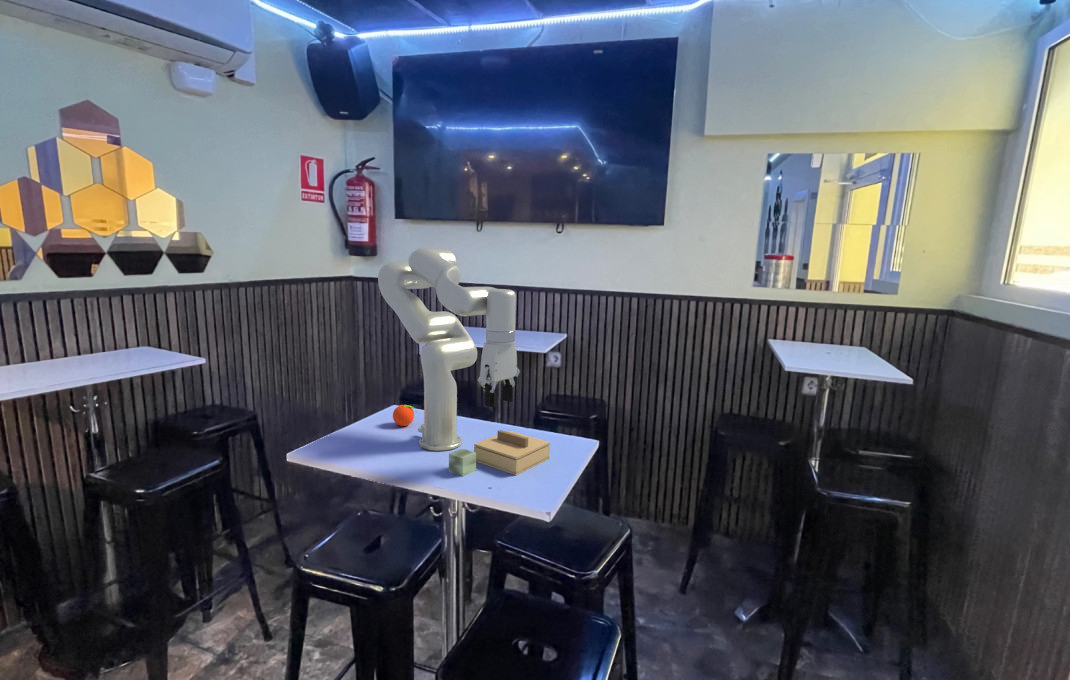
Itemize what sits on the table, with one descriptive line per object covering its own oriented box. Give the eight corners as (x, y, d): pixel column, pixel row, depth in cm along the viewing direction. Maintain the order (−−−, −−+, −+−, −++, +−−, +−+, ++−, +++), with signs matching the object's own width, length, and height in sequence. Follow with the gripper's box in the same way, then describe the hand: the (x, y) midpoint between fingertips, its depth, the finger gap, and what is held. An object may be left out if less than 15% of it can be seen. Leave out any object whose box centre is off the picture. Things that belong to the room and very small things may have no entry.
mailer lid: (474, 445, 144) (474, 435, 143) (508, 432, 156) (509, 422, 155) (516, 459, 135) (516, 448, 134) (549, 444, 147) (550, 433, 146)
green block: (448, 471, 137) (448, 453, 136) (462, 466, 141) (462, 448, 140) (462, 476, 134) (462, 458, 133) (475, 470, 138) (476, 452, 137)
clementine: (419, 422, 175) (419, 402, 174) (415, 429, 168) (415, 408, 167) (395, 421, 175) (395, 401, 174) (390, 428, 168) (390, 407, 167)
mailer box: (473, 460, 144) (474, 446, 144) (508, 446, 156) (508, 433, 156) (516, 475, 135) (516, 460, 135) (549, 458, 147) (549, 445, 147)
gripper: (510, 332, 145) (509, 394, 147) (466, 338, 131) (466, 407, 134) (532, 335, 140) (530, 399, 143) (489, 342, 126) (487, 413, 129)
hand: (499, 403), depth 138 cm, fingers open, 6 cm apart
